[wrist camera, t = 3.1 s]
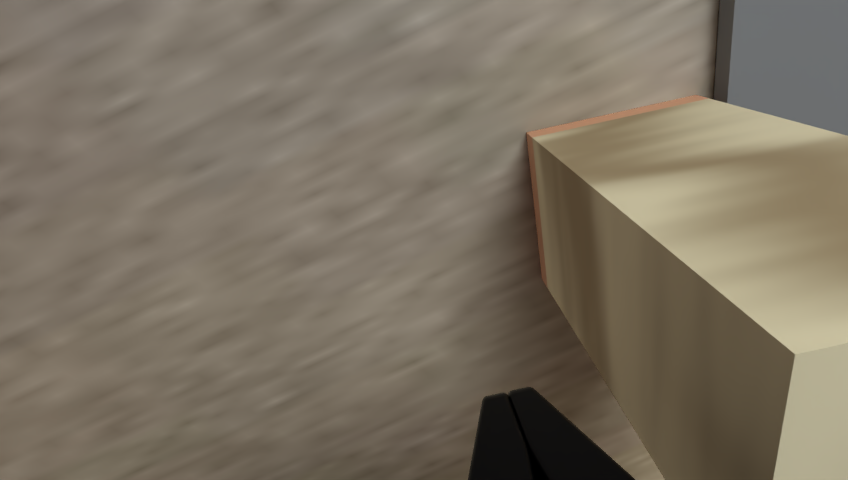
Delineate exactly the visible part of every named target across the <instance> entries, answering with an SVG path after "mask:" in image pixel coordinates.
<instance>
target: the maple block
mask: <svg viewBox="0 0 848 480" xmlns="http://www.w3.org/2000/svg"><path fill="white" fill-rule="evenodd" d="M526 135H527V144H528V154H529V163H530V172H531V182H532V191H533V200H534V210H535V219H536V228H537V237H538V247H539V256H540V265H541V275H542V280H543V281H544V283H545V285H546V286H547V288H548V290H549V291H550V293H551V294H552V296H553V298H554V299H555V301H556V303H557V304H558V306H559V307H560V309H561V311H562V312H563V314H564V316H565V317H566V319H567V321H568V322H569V324H570V325H571V327H572V329H573V330H574V332H575V334H576V335H577V337H578V338H579V340H580V342H581V343H582V345H583V347H584V348H585V350H586V351H587V353H588V355H589V356H590V358H591V360H592V361H593V363H594V364H595V366H596V368H597V369H598V371H599V373H600V374H601V376H602V377H603V379H604V381H605V382H606V384H607V386H608V387H609V389H610V391H611V392H612V394H613V395H614V397H615V399H616V400H617V402H618V404H619V405H620V407H621V408H622V410H623V412H624V413H625V415H626V417H627V418H628V420H629V421H630V423H631V425H632V426H633V428H634V430H635V431H636V433H637V434H638V436H639V438H640V439H641V441H642V443H643V444H644V446H645V447H646V449H647V451H648V452H649V454H650V456H651V457H652V459H653V461H654V462H655V464H656V465H657V467H658V469H659V470H660V472H661V474H662V475H663V477H664V478H665V480H848V136H847V135H843V134H839V133H836V132H832V131H828V130H825V129H821V128H817V127H813V126H810V125H806V124H802V123H799V122H795V121H791V120H787V119H784V118H780V117H776V116H773V115H769V114H765V113H761V112H758V111H754V110H750V109H747V108H743V107H739V106H735V105H732V104H728V103H724V102H721V101H717V100H713V99H710V98H706V97H702V96H698V95H694V96H689V97H685V98H680V99H676V100H671V101H667V102H662V103H658V104H653V105H649V106H644V107H640V108H635V109H631V110H626V111H622V112H617V113H613V114H608V115H603V116H599V117H594V118H590V119H585V120H581V121H576V122H572V123H567V124H563V125H558V126H554V127H549V128H545V129H540V130H536V131H531V132H527V133H526Z"/></svg>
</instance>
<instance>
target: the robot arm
mask: <svg viewBox="0 0 848 480" xmlns="http://www.w3.org/2000/svg"><path fill="white" fill-rule="evenodd" d="M468 480H635V479H634V478H633V477H632V476H631V475H630V474H629V473H627V472H626V471H625V470H624V469H623V468H622V467H621V466H620V465H618V464H617V463H616V462H615V461H614V460H613V459H612V458H611V457H610V456H608V455H607V454H606V453H605V452H604V451H603V450H602V449H601V448H599V447H598V446H597V445H596V444H595V443H594V442H593V441H592V440H591V439H589V438H588V437H587V436H586V435H585V434H584V433H583V432H582V431H580V430H579V429H578V428H577V427H576V426H575V425H574V424H573V423H571V422H570V421H569V420H568V419H567V418H566V417H565V416H564V415H563V414H561V413H560V412H559V411H558V410H557V409H556V408H555V407H554V406H552V405H551V404H550V403H549V402H548V401H547V400H546V399H545V398H544V397H542V396H541V395H540V394H539V393H538V392H537V391H536V390H534V389H533V388H531V387H526V388H521V389H517V390H513V391H510V392H509V394H508V395H507V394H506V393H499V394H495V395H491V396H486V397H485V398H484V399H483V401H482V406H481V411H480V417H479V422H478V428H477V433H476V439H475V444H474V449H473V455H472V460H471V466H470V471H469V477H468Z"/></svg>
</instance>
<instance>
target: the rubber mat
mask: <svg viewBox="0 0 848 480" xmlns="http://www.w3.org/2000/svg"><path fill="white" fill-rule="evenodd" d="M714 100H717V101H721V102H724V103H728V104H732V105H735V106H739V107H743V108H747V109H750V110H754V111H758V112H761V113H765V114H769V115H773V116H776V117H780V118H784V119H787V120H791V121H795V122H799V123H802V124H806V125H810V126H813V127H817V128H821V129H825V130H828V131H832V132H836V133H839V134H843V135H847V136H848V0H720V8H719V23H718V39H717V55H716V71H715V87H714Z"/></svg>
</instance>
